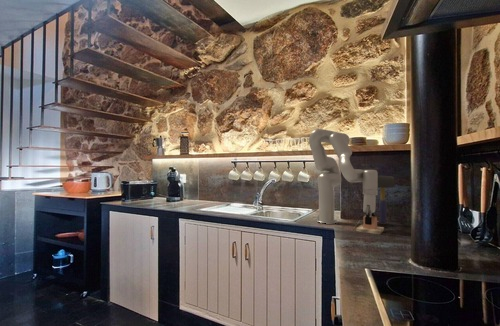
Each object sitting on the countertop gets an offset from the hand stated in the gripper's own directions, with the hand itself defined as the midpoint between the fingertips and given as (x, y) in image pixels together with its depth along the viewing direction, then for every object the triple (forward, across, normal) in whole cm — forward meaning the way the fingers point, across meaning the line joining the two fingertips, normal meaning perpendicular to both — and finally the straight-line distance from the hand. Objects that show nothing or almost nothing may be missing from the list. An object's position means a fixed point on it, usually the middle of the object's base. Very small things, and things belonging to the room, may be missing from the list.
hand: (370, 222), depth 144 cm
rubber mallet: (+4, -23, +3) cm, 24 cm away
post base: (+4, 0, 0) cm, 4 cm away
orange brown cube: (+3, 0, 0) cm, 3 cm away
